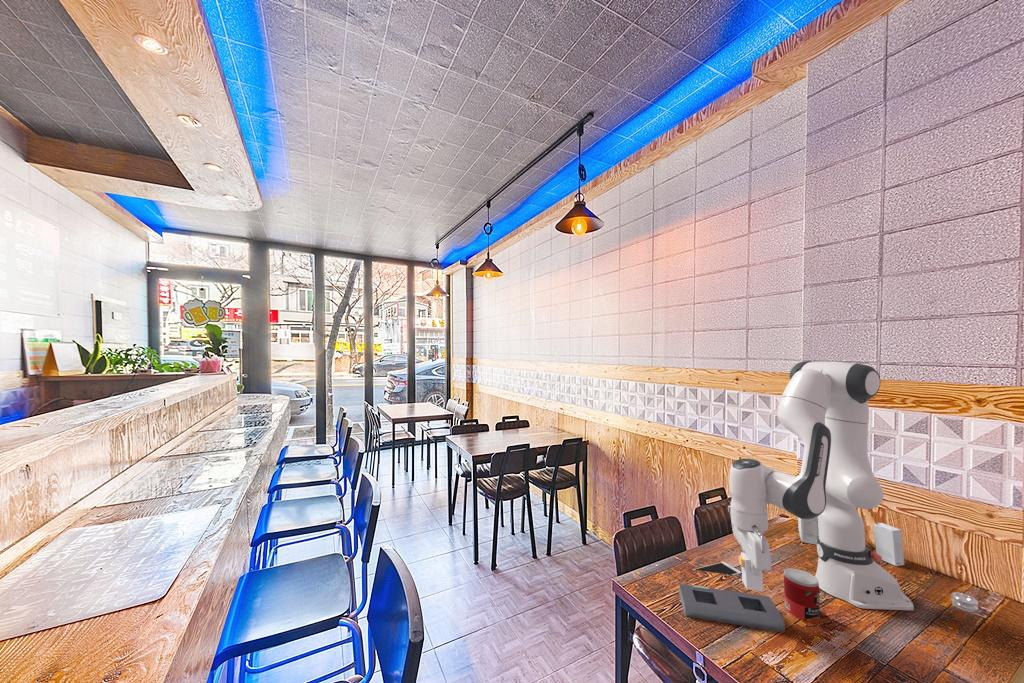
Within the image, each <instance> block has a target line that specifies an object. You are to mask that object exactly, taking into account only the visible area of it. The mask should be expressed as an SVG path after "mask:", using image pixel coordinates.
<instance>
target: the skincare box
mask: <svg viewBox="0 0 1024 683" xmlns="http://www.w3.org/2000/svg"><path fill="white" fill-rule="evenodd" d="M873 531H874V544H875V552H876V553H877V554H879V555H880V556H881V558H882V560H881V561H883V562H886V563H888V564H891V565H893V566H894V567H900V566H904V565H905V556H904V547H903V546H904V545H903V544H904V543H903V532H902V529H900V528H897V527H894V526H891V525H889V524H886V523H884V522H878V523H874V524H873Z"/></svg>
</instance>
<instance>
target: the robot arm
mask: <svg viewBox="0 0 1024 683" xmlns="http://www.w3.org/2000/svg"><path fill="white" fill-rule="evenodd" d="M880 387H881V377H880V373H879V372H878V370H876V369H875V367H873V366H870V365H867V364H861V363H850V362H844V361H833V360H832V361H811V360H806V361H799V362H797V363H796V364H794V366H792V368H791V370H790V372H789V382H787V385H786V386H785V389H784V390H783V393H782V395H781V397H780V400H779V402H778V405H777V409H776V416H777V418H778V420H779V422H780V424H781V425H782V426H783V427H784V428H785V429H786V430H787V431H789V432H791V433H792V434H794V435H795V436H797V437H798V438H799V439H800V440H801V441H802V444H803V455H802V459H801V460H802V461H801V467H800V473H798V475H796V476H795V475H792V474H789V473H786V472H783V471H780V470H777V469H774V468H772V467H771V468H770V467H768V466H766V465H764V464H762V462H760V461H759V460H757V459H753V458H740V459H736V460H734V461H733V462H731V465H730V469H729V475H728V476H729V477H728V478H729V480H728V482H729V483H728V484H729V485H728V486H729V493H730V496H731V500H730V503H729V505H728V507H727V511H728V513H729V515H730V521H731V528H732V533H733V536H734V538H735V539H736V541H737V542H738V544H739V545H740V548H741V551H742V552H743V553H746V554H747V556H748V558H749V559H750V561H751V563H752V564H751V566H750V569H751V573H752V574H753V575H754V576H760V570H762V572H764V571H765V572H770V571H771V570H772V567H773V566H772V564H773V563H772V556H771V549H770V544H769V541H768V539H767V538H766V537H765V535H764V532H766V531H768V529H769V519H768V518H769V517H768V508H767V505H769V504H770V505H772V506H775V507H777V508H779V509H782V510H783V511H786V512H787V513H790V514H791V515H793V516H795V517H796V518H798V517H799V518H801V519H805V520H806V519H812V518H815V517H817V516H818V531H819V536H818V537H817V545H816V551H817V552H816V553H817V556H818V558H817V567H816V573H815V575H814V576H815V577H816V578H817V579H818V582H819V590H822V591H823V592H825V593H827V594H829V595H831V596H833V597H835V598H837V599H840V600H842V601H844V602H847V603H849V604H851V605H853V606H855V607H857V608H860V609H864V610H865V609H867V610H868V609H869V610H891V611H893V610H894V611H914V610H915V607H914V603H913V601H912V600H911V599H910V598H909V597H908V596H907V595H906V594H904V593H903V592H902V588H901V586H900V584H899V582H898V581H897V579H896V578H895V577H894V576H893V575H892V574H891V573H889V571H887V570H886V568H885V569H884V568H883V567H882V566H881V565H880V564H878V563H879V562H881V561H883V560H882V558H881V556H880V555H879V554H877V553H876V551H873V550H872V549H870V548H869V547H868V546H866V535H865V534H866V533H865V531H866V530H865V529H866V528H865V522H864V520H863V518H862V516H861V514H859V512H858V510H857V508H858V509H861V510H871V509H875V508H877V507H878V506H879V505H880V504H881V503H882V502H883V499H884V489H883V487H882V485H881V484H880V483H879V482H878V480H877V478H876V476H875V475H874V472H873V470H872V466H871V462H870V459H869V453H868V434H869V423H870V421H869V418H870V411H869V410H870V408H869V400H871V399H872V398H874V397H875V396H876V395H877V394H878V392H879V391H880V389H881V388H880ZM877 562H878V563H877Z"/></svg>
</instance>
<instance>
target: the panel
mask: <svg viewBox="0 0 1024 683" xmlns="http://www.w3.org/2000/svg"><path fill="white" fill-rule="evenodd" d="M678 589H679V590H678V594H679V598H680V602H681V605H682V609H683V614H684V616H685V617H689V618H695V619H701V620H708V621H714V622H720V623H725V624H726V623H727V624H733V625H739V626H745V627H751V628H758V629H763V630H768V631H775V632H781V633H785V632H786V628H785V627H786V626H785V618H784V617H783V615H782V614H781V613H780V611H779V610H778V609H779V608H777V606H776V605H775V603H774V602H773V600H772V599H771V596H768V595H761V594H753V593H747V592H740V591H734V590H733V591H732V590H726V589H718V588H711V587H707V586H699V585H695V584H693V585H691V584H684V583H679V584H678Z"/></svg>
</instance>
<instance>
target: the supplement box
mask: <svg viewBox="0 0 1024 683" xmlns="http://www.w3.org/2000/svg"><path fill="white" fill-rule="evenodd" d="M797 524H798V533H799V538H800V541H801V543H805V544H811V545H815V546H817V537H818V536H819V531H818V516H817V517H815V518H812V519H806V520H805V519H801V518H799V517H797Z"/></svg>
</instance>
